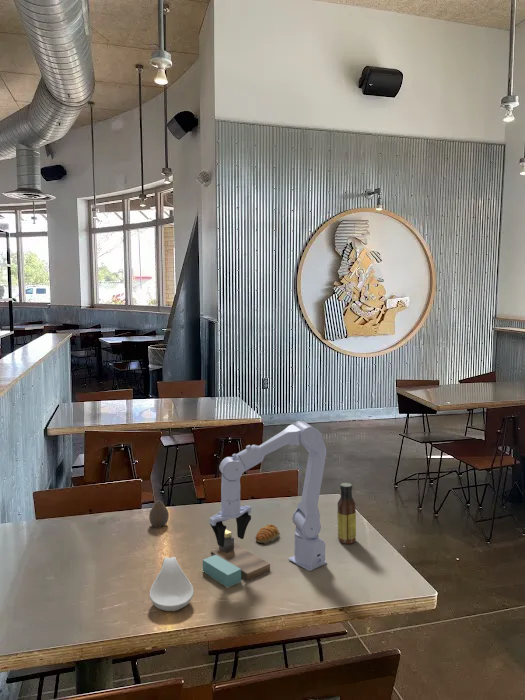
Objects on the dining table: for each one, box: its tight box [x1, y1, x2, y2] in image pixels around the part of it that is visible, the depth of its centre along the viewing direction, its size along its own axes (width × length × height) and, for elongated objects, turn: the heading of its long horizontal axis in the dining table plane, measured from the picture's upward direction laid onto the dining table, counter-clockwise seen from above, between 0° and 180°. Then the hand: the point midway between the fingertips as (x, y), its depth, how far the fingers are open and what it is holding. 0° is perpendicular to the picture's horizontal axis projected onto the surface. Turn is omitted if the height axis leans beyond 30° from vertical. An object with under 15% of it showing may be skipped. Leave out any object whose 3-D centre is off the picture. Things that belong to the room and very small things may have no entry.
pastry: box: [255, 523, 281, 544], centre depth 180 cm, size 9×7×4 cm
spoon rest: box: [148, 556, 195, 612], centre depth 146 cm, size 24×12×7 cm, turn 13°
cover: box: [202, 555, 242, 588], centre depth 155 cm, size 12×5×4 cm, turn 43°
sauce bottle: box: [336, 482, 357, 545], centre depth 179 cm, size 7×6×20 cm
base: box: [210, 535, 271, 581], centre depth 163 cm, size 18×9×6 cm, turn 41°
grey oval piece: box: [148, 500, 170, 528], centre depth 190 cm, size 7×7×9 cm
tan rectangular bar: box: [224, 529, 232, 539], centre depth 169 cm, size 6×2×2 cm, turn 41°
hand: (230, 541), depth 157 cm, fingers open, 7 cm apart
